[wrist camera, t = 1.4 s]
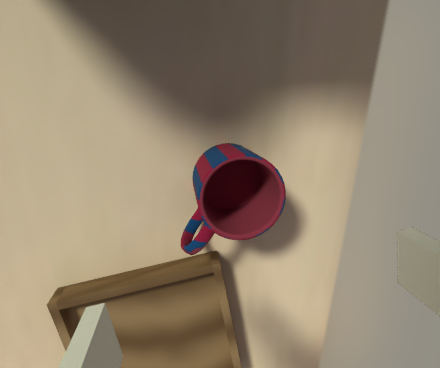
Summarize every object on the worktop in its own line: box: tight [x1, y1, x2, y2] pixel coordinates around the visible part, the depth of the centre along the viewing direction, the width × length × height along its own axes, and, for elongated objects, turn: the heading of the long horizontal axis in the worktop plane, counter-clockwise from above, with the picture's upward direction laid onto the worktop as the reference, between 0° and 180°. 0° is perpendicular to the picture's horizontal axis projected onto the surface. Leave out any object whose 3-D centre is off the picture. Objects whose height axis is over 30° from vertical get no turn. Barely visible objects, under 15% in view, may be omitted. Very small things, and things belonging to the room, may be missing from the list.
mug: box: [181, 143, 285, 255], centre depth 25 cm, size 7×10×7 cm
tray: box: [47, 251, 241, 368], centre depth 30 cm, size 15×16×2 cm
